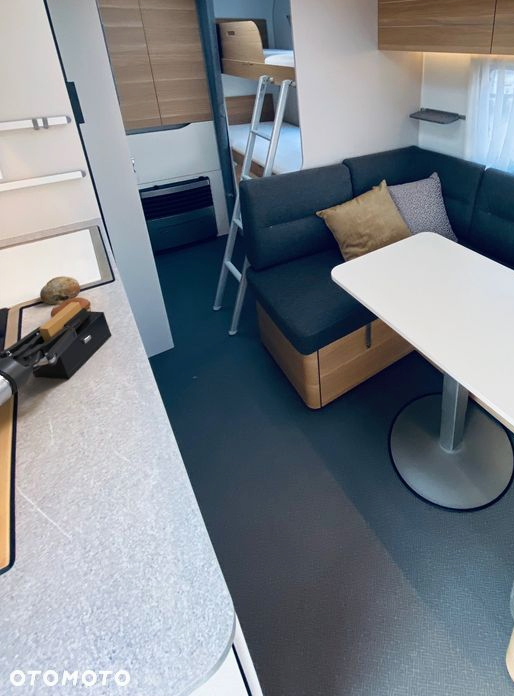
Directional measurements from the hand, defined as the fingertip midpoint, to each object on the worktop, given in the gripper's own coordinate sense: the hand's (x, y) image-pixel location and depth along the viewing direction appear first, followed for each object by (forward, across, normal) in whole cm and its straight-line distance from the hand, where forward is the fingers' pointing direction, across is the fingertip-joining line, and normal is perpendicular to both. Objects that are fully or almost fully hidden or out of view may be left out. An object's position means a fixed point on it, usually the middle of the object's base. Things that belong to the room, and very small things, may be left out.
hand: (80, 311), depth 106 cm
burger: (+8, -12, -10) cm, 18 cm away
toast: (-6, 0, -6) cm, 8 cm away
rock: (+18, -24, -10) cm, 32 cm away
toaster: (-6, 0, -9) cm, 11 cm away
